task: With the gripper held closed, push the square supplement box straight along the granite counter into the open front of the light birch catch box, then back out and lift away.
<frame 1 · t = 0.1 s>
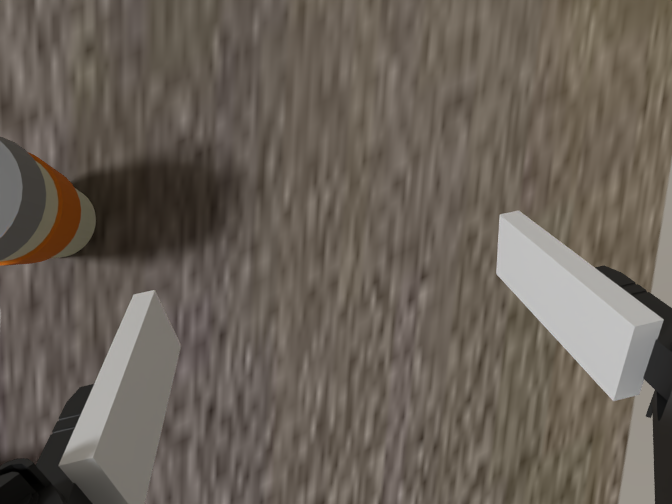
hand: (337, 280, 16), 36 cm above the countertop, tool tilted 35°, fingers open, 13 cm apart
reusable coffee cup: (59, 221, 51), on the countertop
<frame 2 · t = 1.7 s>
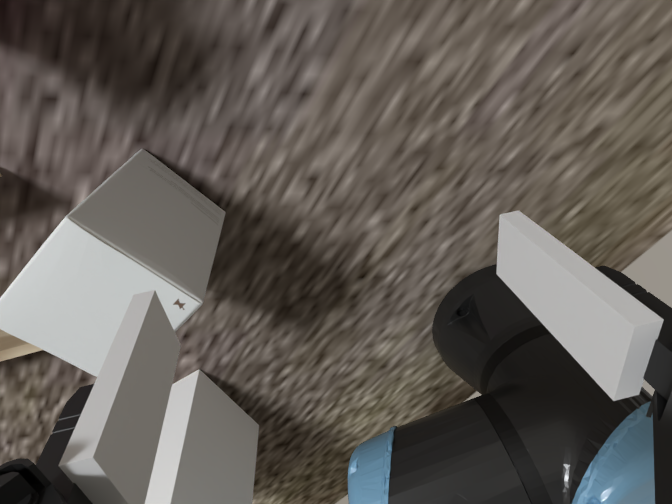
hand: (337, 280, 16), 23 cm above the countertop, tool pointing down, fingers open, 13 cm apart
supplement box: (156, 214, 38), on the countertop
milk: (189, 420, 50), on the countertop
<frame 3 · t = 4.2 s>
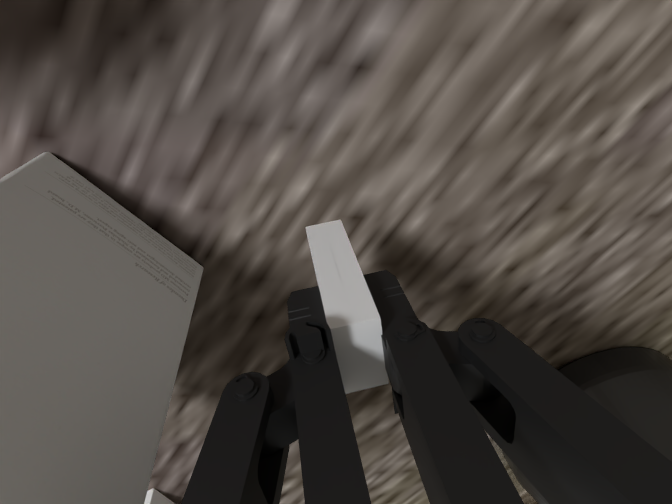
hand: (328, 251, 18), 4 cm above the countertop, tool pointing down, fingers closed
supplement box: (79, 266, 21), on the countertop
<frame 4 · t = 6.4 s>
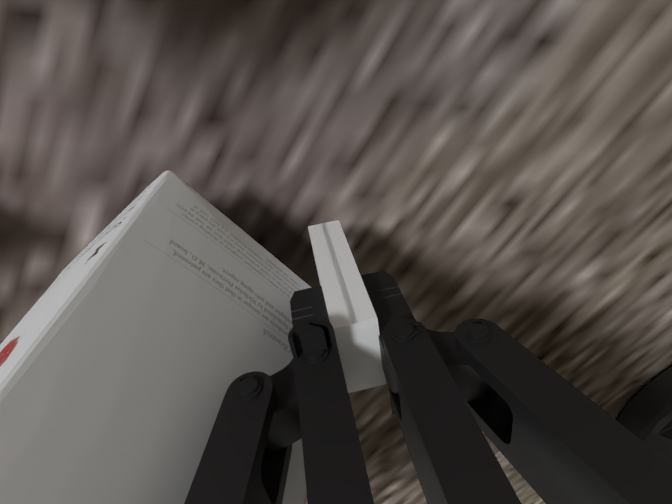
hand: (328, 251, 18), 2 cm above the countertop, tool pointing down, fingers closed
supplement box: (196, 282, 19), point 1 cm above the countertop, touching gripper, hand
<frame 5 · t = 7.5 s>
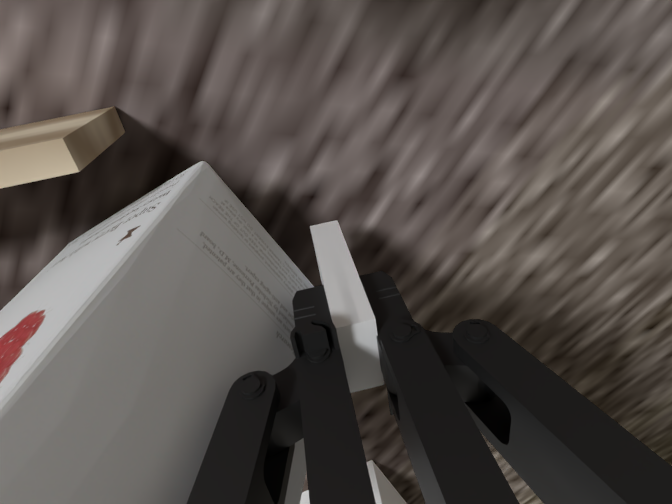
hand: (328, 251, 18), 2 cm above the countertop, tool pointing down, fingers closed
catch box: (20, 305, 19), on the countertop
supplement box: (205, 273, 19), point 1 cm above the countertop, touching gripper, hand
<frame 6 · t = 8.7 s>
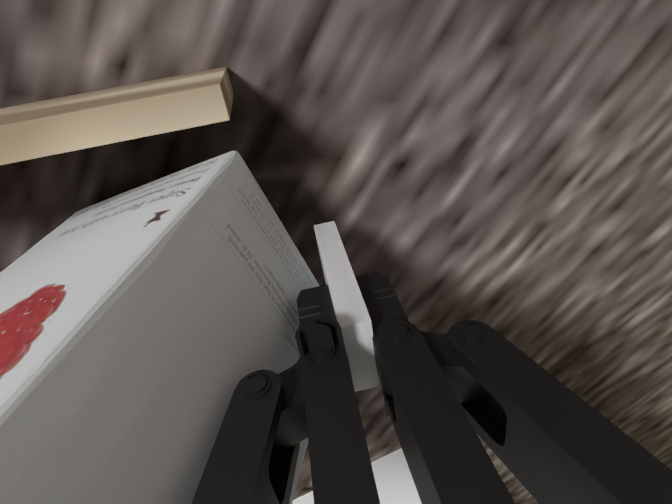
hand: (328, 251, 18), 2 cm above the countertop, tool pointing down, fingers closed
catch box: (110, 272, 19), on the countertop
supplement box: (212, 262, 18), point 1 cm above the countertop, touching gripper, hand
milk: (380, 503, 33), on the countertop
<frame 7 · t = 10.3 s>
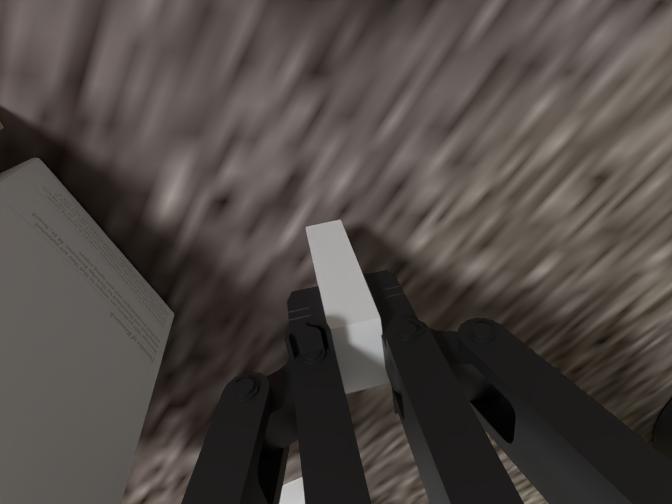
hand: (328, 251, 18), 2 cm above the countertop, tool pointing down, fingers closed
supplement box: (29, 281, 18), on the countertop
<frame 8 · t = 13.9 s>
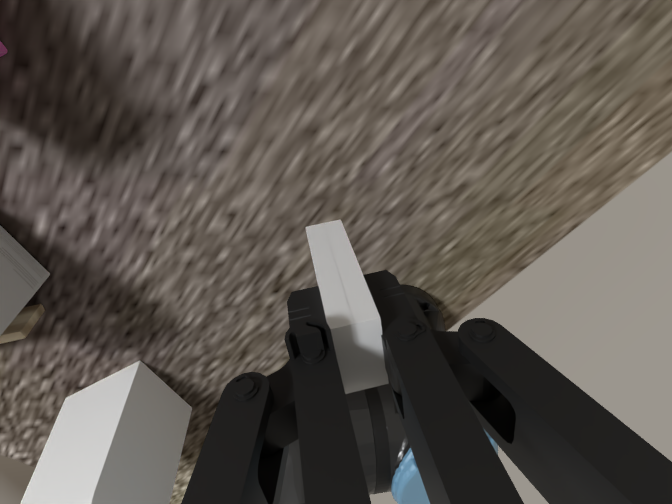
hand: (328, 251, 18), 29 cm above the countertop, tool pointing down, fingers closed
milk: (131, 402, 59), on the countertop
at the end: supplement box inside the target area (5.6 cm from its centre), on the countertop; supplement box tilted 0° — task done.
